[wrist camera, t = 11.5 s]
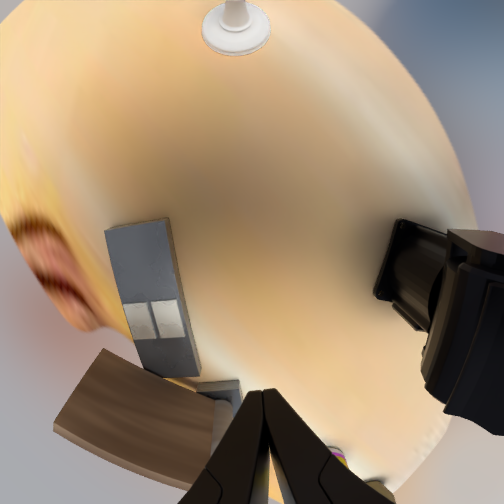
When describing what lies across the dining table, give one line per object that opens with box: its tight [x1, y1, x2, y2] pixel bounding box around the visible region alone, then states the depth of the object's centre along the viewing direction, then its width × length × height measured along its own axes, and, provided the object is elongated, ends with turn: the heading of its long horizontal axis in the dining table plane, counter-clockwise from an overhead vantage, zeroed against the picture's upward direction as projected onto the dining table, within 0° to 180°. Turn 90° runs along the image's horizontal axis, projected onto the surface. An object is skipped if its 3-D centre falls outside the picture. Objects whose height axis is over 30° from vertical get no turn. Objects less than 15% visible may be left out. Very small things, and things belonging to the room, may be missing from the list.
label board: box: [104, 218, 243, 418], centre depth 21 cm, size 8×18×1 cm, turn 7°
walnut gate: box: [53, 348, 233, 491], centre depth 17 cm, size 2×12×9 cm, turn 62°
